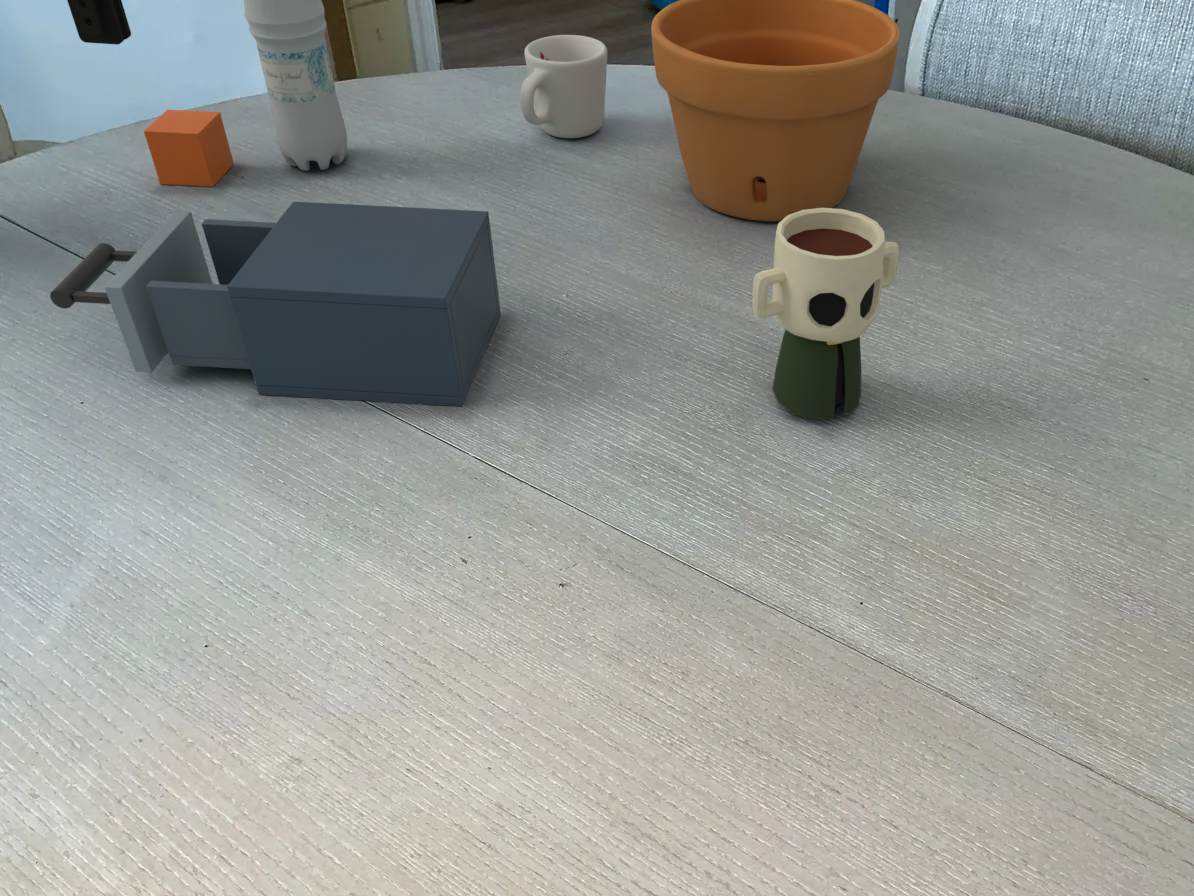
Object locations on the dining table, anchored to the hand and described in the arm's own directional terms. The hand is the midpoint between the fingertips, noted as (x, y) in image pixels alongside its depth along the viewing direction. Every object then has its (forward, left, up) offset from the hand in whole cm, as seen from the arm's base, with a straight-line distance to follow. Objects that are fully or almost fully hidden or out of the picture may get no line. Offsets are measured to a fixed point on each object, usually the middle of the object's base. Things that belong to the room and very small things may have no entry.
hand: (106, 39), depth 88 cm
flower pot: (+49, +17, -17) cm, 55 cm away
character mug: (+54, -17, -17) cm, 59 cm away
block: (-4, +14, -17) cm, 22 cm away
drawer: (+10, -14, -16) cm, 24 cm away
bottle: (+6, +18, -17) cm, 26 cm away
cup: (+28, +27, -17) cm, 43 cm away
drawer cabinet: (+22, -14, -17) cm, 31 cm away
